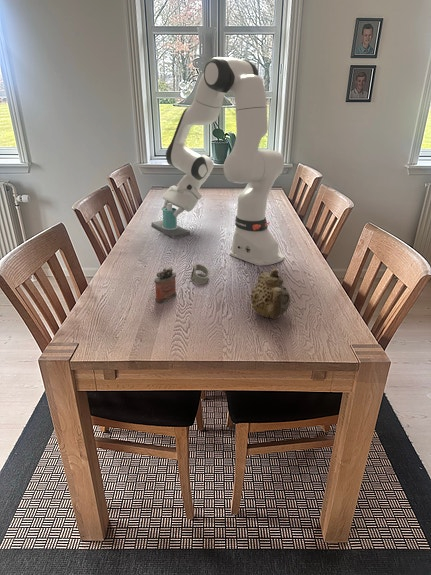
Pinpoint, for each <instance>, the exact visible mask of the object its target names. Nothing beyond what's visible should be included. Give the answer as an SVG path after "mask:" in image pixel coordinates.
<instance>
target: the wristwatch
mask: <svg viewBox="0 0 431 575" xmlns="http://www.w3.org/2000/svg"><path fill="white" fill-rule="evenodd" d="M197 271H199V272H202V273H204V274H205V277H202V276H200V275H198V274H197ZM209 277H210V270H208V268H207V267H206V266H205V265H204V264H203V265H202V264H199V263H198V264H197V263H196V264H194V265H193V268H192V271H191V277H190V278H191V279H190V280H191V281H194V282H195V283H196V284H199V285H200V284H201V285H203V284H206V283H208V280H209Z"/></svg>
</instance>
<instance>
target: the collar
mask: <svg viewBox="0 0 431 575" xmlns="http://www.w3.org/2000/svg"><path fill="white" fill-rule="evenodd" d="M177 210H178V208H175V207H172V211H167V208H164V209H163V210H162V220H163V227H164V228H167V229H173V228H176V227H177V225H178V223H177V222H178V220H177V219H178V216H177V217H175V216H174V215H173V213H174V211H177Z"/></svg>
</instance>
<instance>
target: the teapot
mask: <svg viewBox="0 0 431 575" xmlns="http://www.w3.org/2000/svg"><path fill="white" fill-rule="evenodd" d="M283 283H284V279H283V276H281V275H280V274H279V271H278V269H277V268H273V269H271V270H270V272H266V271H265V272H264V271H263V272H262V273H260V274H259V276H258V277H257V283H256V284H254V286H253V289H252V290H251V293H250V301H251V307H252V309H253V311H254V312H255V313H257V314H259V315H261V316H262V317H264V318H271V319H274V320H275V319H278V318H279V317H280V316H282V315H283V314H284V313H285V312H287V310H288V308H289V306H290V305H291V301H292V300H291V294H290V291H289V290H288V288H287V286H286V285H283Z"/></svg>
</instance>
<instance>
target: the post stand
mask: <svg viewBox="0 0 431 575" xmlns="http://www.w3.org/2000/svg"><path fill="white" fill-rule="evenodd" d="M172 208H173V205H172V204H171V203H168V204H167V211H172ZM150 224H151V227H154V228H155V229H157V230H159V231H161V232H162V233H163V234H165V235H167V236H169V237H171V238H173V239H178V238H184V237H187V236H190V235H191V234H190V233H191V231H189V230H187V229H185V228H183V227H182V226H180V225H178V224H177V227H176V228H173V229H167V228H164V227H163V219H162V220H157V221H152V222H151V223H150Z"/></svg>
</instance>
